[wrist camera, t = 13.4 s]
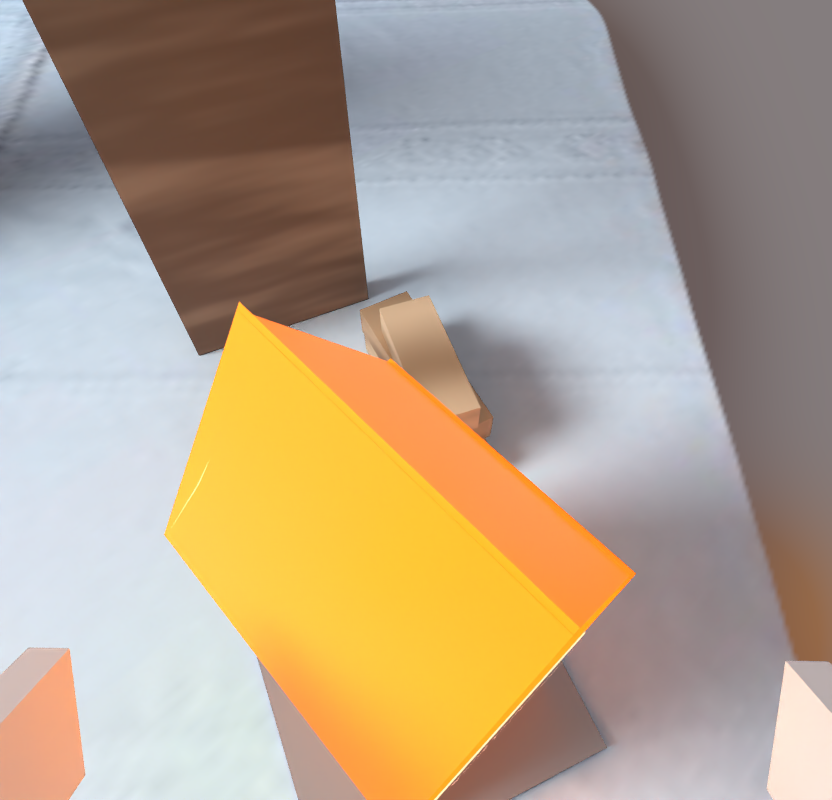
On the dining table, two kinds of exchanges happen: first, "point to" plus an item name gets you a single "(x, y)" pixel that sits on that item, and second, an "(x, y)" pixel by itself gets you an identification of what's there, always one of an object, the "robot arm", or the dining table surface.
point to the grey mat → (488, 771)
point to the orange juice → (379, 556)
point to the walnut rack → (240, 167)
